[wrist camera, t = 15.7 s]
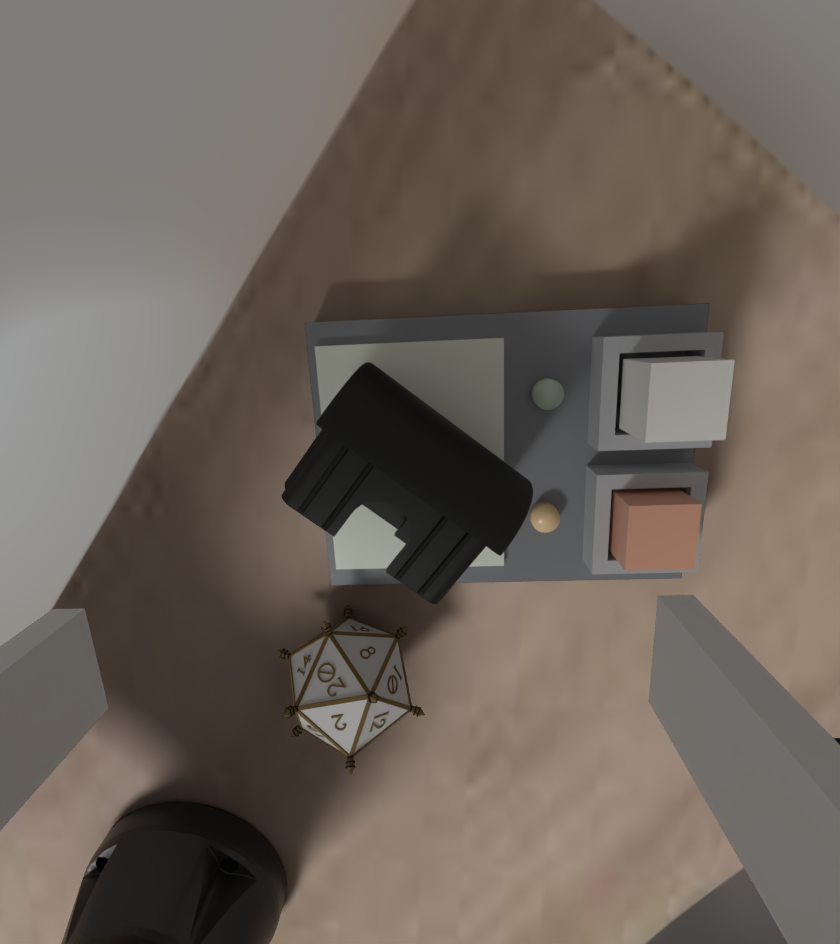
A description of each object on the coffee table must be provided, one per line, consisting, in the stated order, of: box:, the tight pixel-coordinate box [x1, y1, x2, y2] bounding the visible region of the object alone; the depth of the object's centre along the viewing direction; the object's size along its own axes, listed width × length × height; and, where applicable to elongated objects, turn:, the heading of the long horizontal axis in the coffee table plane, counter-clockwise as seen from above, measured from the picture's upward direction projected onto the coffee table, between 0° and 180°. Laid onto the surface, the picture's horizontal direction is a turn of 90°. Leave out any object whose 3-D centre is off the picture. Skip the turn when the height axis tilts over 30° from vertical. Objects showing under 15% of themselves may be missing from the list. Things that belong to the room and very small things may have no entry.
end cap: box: [282, 362, 533, 604], centre depth 25 cm, size 10×7×7 cm
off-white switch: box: [619, 356, 735, 443], centre depth 24 cm, size 4×4×4 cm
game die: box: [277, 606, 425, 775], centre depth 31 cm, size 9×8×10 cm
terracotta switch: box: [608, 488, 702, 571], centre depth 27 cm, size 4×4×4 cm
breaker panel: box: [305, 303, 724, 585], centre depth 29 cm, size 21×16×4 cm
